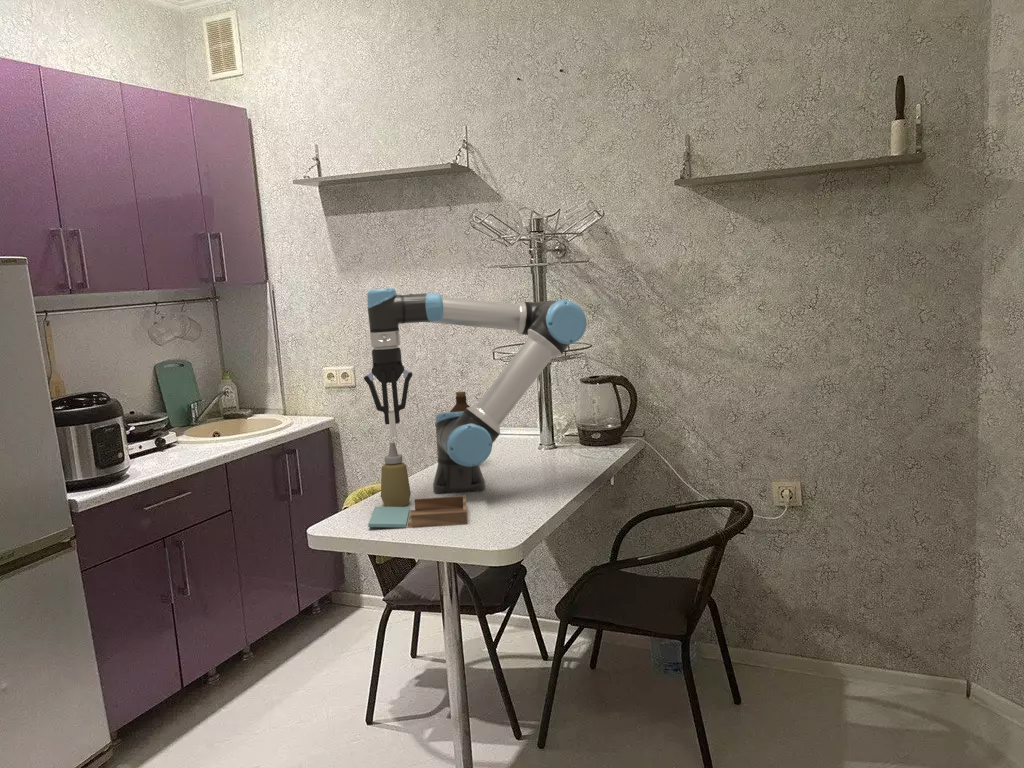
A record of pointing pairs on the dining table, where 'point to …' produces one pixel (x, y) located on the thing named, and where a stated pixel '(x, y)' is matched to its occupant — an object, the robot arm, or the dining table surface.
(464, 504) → the crate
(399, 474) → the squeeze bottle
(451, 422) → the robot arm
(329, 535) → the dining table surface
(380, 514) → the panel
